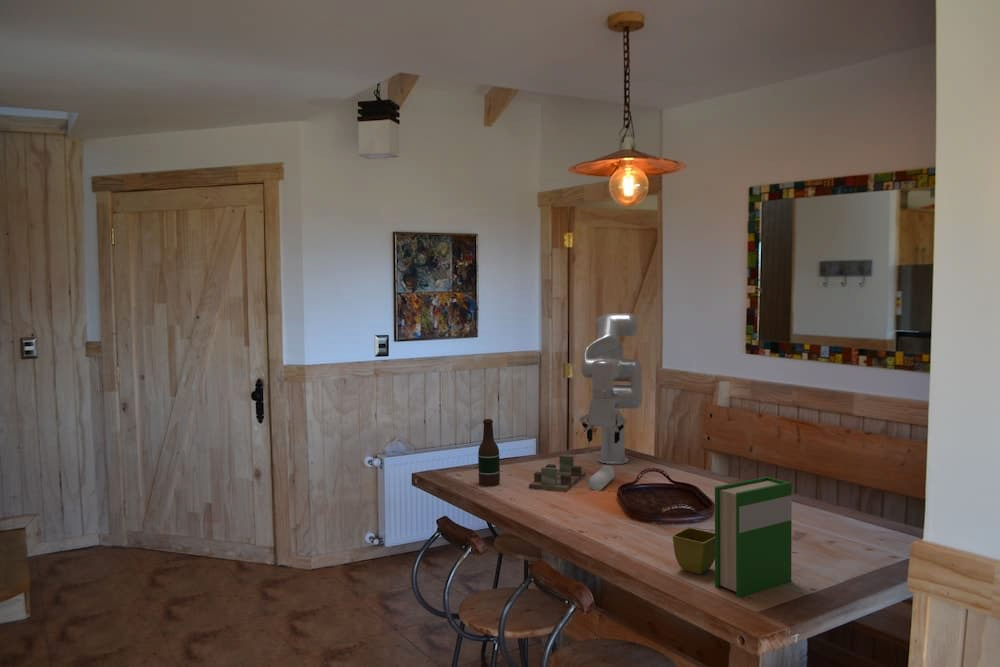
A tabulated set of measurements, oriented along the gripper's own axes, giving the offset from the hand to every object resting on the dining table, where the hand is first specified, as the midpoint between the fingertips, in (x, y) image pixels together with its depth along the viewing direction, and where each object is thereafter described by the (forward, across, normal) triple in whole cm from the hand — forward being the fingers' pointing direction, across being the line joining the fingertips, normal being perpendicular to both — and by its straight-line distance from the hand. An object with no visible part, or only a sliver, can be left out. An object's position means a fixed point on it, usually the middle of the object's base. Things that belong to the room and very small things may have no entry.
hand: (603, 441), depth 274 cm
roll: (+16, 0, -1) cm, 16 cm away
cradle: (+16, +17, 0) cm, 23 cm away
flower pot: (+17, -43, +73) cm, 87 cm away
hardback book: (+17, -57, +78) cm, 98 cm away
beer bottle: (+16, +40, +11) cm, 45 cm away
